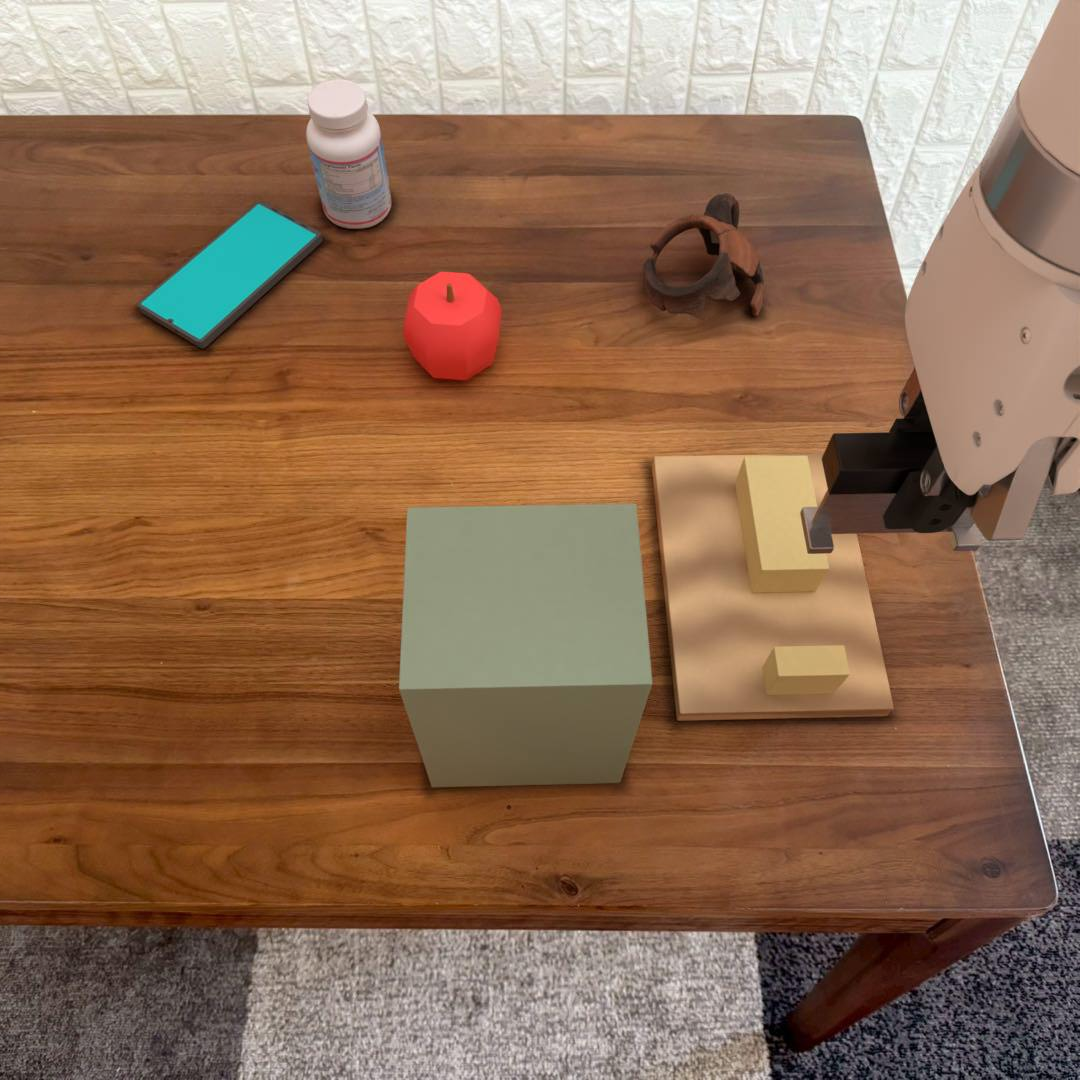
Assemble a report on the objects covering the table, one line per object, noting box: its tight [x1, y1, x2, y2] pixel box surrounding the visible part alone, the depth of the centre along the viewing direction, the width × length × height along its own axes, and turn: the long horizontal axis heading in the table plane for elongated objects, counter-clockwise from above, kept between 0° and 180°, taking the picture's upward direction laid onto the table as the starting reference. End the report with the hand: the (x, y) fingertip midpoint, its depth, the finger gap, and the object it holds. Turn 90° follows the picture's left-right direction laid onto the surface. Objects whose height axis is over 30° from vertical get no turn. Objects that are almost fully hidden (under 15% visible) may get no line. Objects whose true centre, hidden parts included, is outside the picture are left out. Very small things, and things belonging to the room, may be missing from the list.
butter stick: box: [735, 456, 829, 593], centre depth 67 cm, size 9×4×4 cm, turn 2°
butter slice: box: [762, 645, 850, 695], centre depth 62 cm, size 2×4×4 cm, turn 92°
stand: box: [398, 503, 653, 788], centre depth 56 cm, size 10×12×18 cm
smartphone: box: [136, 200, 324, 349], centre depth 81 cm, size 7×1×15 cm
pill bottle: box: [305, 78, 392, 230], centre depth 81 cm, size 6×6×11 cm
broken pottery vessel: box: [642, 192, 764, 321], centre depth 80 cm, size 12×10×8 cm
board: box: [651, 453, 895, 722], centre depth 68 cm, size 20×14×2 cm
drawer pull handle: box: [800, 431, 982, 554], centre depth 45 cm, size 2×9×7 cm, turn 91°
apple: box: [402, 271, 503, 381], centre depth 74 cm, size 8×8×8 cm
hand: (910, 496), depth 45 cm, fingers closed on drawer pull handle, 2 cm apart
